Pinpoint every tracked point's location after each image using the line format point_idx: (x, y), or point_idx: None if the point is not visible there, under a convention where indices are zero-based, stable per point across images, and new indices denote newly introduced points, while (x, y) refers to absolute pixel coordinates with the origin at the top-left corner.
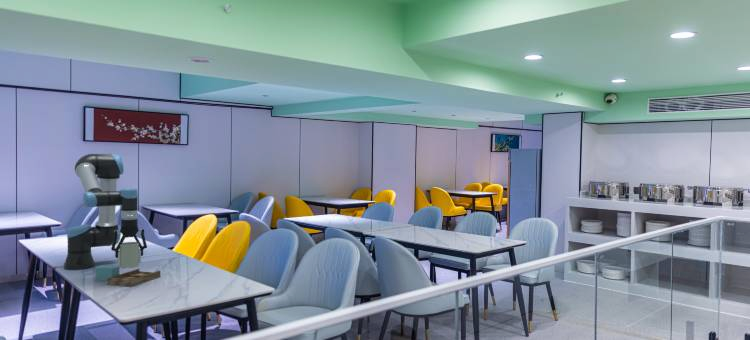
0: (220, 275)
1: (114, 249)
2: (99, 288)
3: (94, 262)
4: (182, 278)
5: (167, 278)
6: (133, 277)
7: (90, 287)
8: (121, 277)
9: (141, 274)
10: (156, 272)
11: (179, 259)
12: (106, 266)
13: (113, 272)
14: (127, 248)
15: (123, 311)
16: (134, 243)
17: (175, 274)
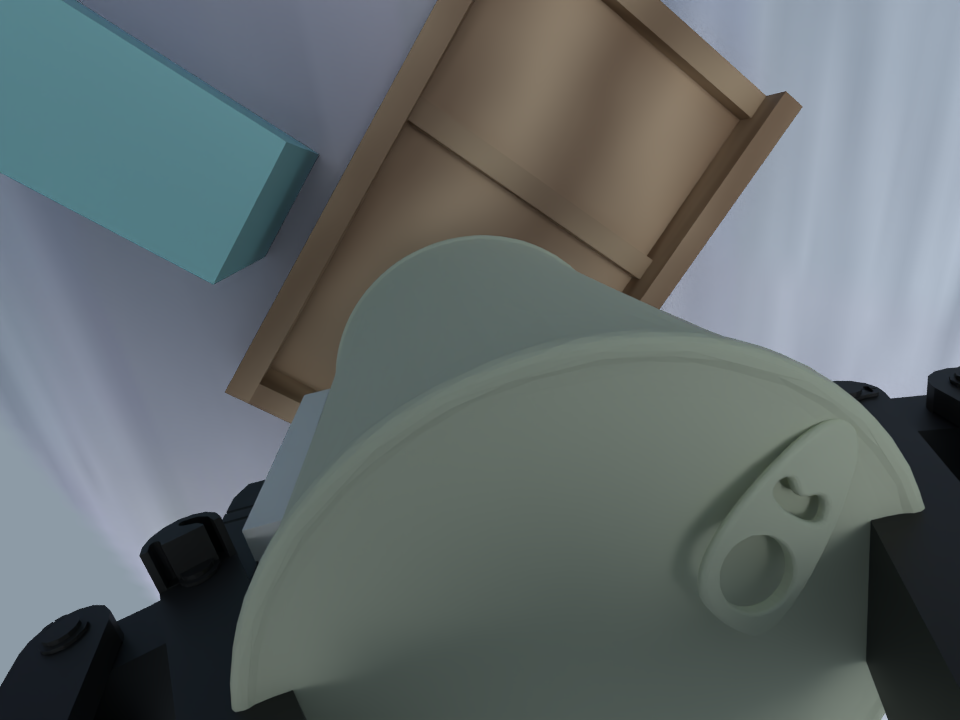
0: None
1: (167, 701)
2: (214, 497)
3: None
4: (927, 256)
5: (806, 221)
6: (485, 202)
7: (104, 448)
8: (352, 218)
9: (564, 45)
10: (749, 177)
11: None
12: (45, 79)
13: (244, 251)
14: None
15: None
16: (774, 657)
17: (911, 33)
